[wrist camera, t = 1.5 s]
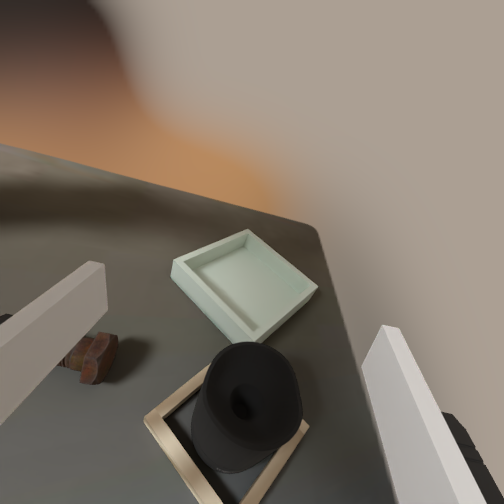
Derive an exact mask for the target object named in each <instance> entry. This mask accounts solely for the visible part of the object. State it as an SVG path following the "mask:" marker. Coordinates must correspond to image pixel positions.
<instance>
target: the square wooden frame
mask: <svg viewBox="0 0 504 504" xmlns="http://www.w3.org/2000/svg"><path fill="white" fill-rule="evenodd" d="M210 364H211V363H210ZM210 364H209V365H208V366H206V367H205V368H204V369H203V370H202V371H200V372H199V373H198V374H197V375H195V376H194V377H193V378H192V379H190V380H189V381H188V382H187V383H185V384H184V385H183V386H182V387H180V388H179V389H178V390H177V391H176V392H174V393H173V394H172V395H171V396H169V397H168V398H167V399H166V400H164V401H163V402H162V403H161V404H159V405H158V406H157V407H156V408H154V409H153V410H152V411H151V412H150V413H148V414H147V415H146V416H145V417H144V423H145V425H146V426H147V428H148V429H149V431H150V432H151V433H152V435H153V436H154V438H155V439H156V441H157V442H158V444H159V445H160V447H161V448H162V450H163V451H164V452H165V454H166V455H167V457H168V458H169V460H170V461H171V463H172V464H173V466H174V467H175V469H176V470H177V471H178V473H179V474H180V476H181V477H182V479H183V480H184V482H185V483H186V485H187V486H188V488H189V489H190V491H191V492H192V493H193V495H194V496H195V498H196V499H197V501H198V502H199V504H223V502H222V501H221V500H220V498H219V497H218V496H217V494H216V493H215V491H214V490H213V489H212V487H211V486H210V484H209V483H208V482H207V480H206V479H205V477H204V476H203V475H202V473H201V472H200V470H199V469H198V468H197V466H196V465H195V463H194V462H193V461H192V459H191V458H190V456H189V455H188V454H187V452H186V451H185V449H184V448H183V447H182V445H181V444H180V442H179V441H178V440H177V438H176V437H175V435H174V434H173V433H172V431H171V430H170V429H169V427H168V426H167V424H166V423H165V422H164V419H165V418H166V417H168V416H169V415H170V414H171V413H172V412H173V411H175V410H176V409H177V408H178V407H179V406H180V405H181V404H183V403H184V402H185V401H186V400H187V399H188V398H190V397H191V396H192V395H193V394H194V393H195V392H197V391H198V390H199V389H200V388H201V387H202V384H203V381H204V378H205V375H206V373H207V370H208V368H209V366H210ZM309 427H310V426H309V425H308V424H307V423H306V422H305V421H304V420H303V419H302V422H301V425H300V427H299V429H298V431H297V433H296V434H295V435H294V437H293V438H292V439H291V440H290V441H289V442H287V443H286V444H284V445H283V446H281V447H280V448H279V449H277V450H276V452H275V453H274V455H273V456H272V457H271V459H270V460H269V462H268V463H267V464H266V466H265V467H264V469H263V470H262V471H261V473H260V474H259V476H258V477H257V478H256V480H255V481H254V483H253V484H252V485H251V487H250V488H249V490H248V491H247V492H246V494H245V495H244V497H243V498H242V499H241V501H240V502H239V504H258V503H259V502H260V500H261V499H262V497H263V496H264V494H265V493H266V491H267V490H268V488H269V487H270V485H271V484H272V482H273V481H274V479H275V478H276V476H277V475H278V473H279V472H280V470H281V469H282V467H283V466H284V464H285V463H286V461H287V460H288V458H289V457H290V455H291V454H292V452H293V451H294V449H295V448H296V446H297V445H298V443H299V442H300V440H301V439H302V437H303V436H304V434H305V433H306V431H307V430H308V428H309Z"/></svg>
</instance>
